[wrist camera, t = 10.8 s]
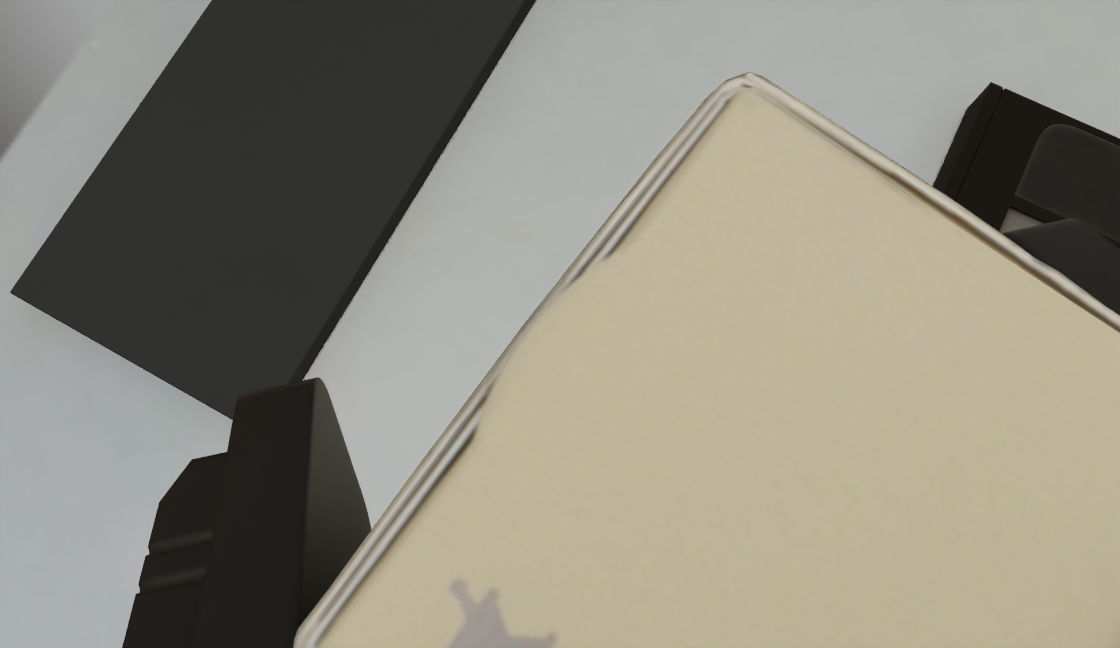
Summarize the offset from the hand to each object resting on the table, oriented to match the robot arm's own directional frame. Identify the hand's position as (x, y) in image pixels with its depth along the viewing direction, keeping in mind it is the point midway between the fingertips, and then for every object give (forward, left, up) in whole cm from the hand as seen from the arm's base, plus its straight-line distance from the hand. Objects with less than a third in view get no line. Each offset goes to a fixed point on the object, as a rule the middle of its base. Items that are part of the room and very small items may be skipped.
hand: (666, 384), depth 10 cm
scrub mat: (-6, +15, -22) cm, 27 cm away
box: (0, -2, -10) cm, 10 cm away
